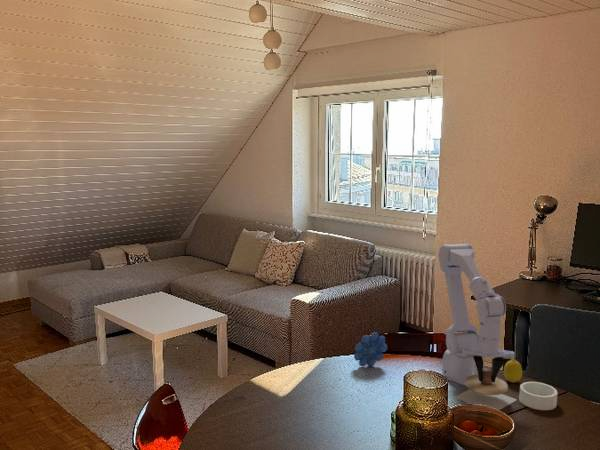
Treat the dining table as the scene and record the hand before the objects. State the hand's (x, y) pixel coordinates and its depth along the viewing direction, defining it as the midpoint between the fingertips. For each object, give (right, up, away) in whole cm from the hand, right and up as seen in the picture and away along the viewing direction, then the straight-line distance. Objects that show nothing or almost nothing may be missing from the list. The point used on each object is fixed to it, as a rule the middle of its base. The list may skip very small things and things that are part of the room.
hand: (486, 380), depth 169 cm
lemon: (+12, -5, +13) cm, 18 cm away
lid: (0, -2, 0) cm, 2 cm away
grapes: (-31, -2, +26) cm, 41 cm away
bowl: (+15, -7, -1) cm, 16 cm away
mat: (0, -6, +1) cm, 6 cm away
